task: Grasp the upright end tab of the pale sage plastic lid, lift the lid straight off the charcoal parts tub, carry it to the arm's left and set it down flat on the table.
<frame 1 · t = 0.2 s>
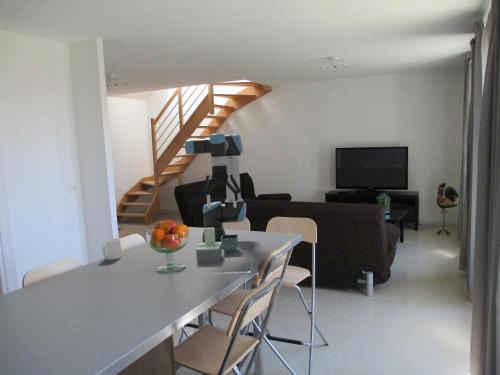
hand: (222, 207, 204), 27 cm above the counter, fingers open, 13 cm apart
cup: (111, 259, 225), on the counter
flower pot: (230, 252, 223), on the counter
tub: (209, 260, 210), on the counter
lid: (209, 247, 209), point 7 cm above the counter, touching tub
part a: (206, 257, 212), point 1 cm above the counter, touching tub
part b: (213, 260, 207), point 1 cm above the counter, touching tub
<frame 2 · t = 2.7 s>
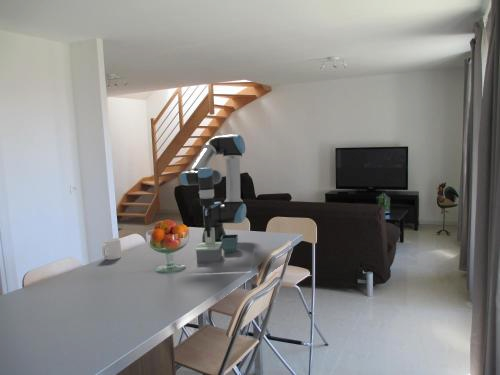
hand: (209, 242, 213), 8 cm above the counter, fingers open, 3 cm apart
lid: (209, 247, 209), point 7 cm above the counter, touching gripper, tub
everything else where it was.
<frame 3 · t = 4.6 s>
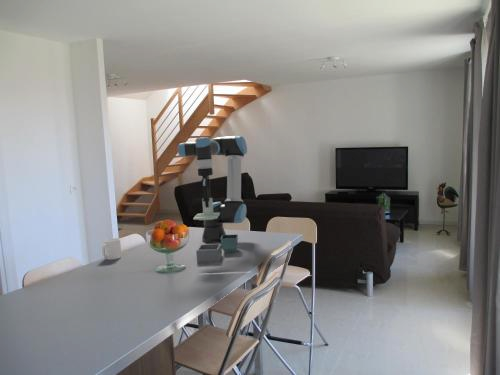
hand: (208, 212, 212), 24 cm above the counter, fingers closed on lid, 2 cm apart
lid: (207, 216, 208), point 23 cm above the counter, touching gripper
everything else where it was.
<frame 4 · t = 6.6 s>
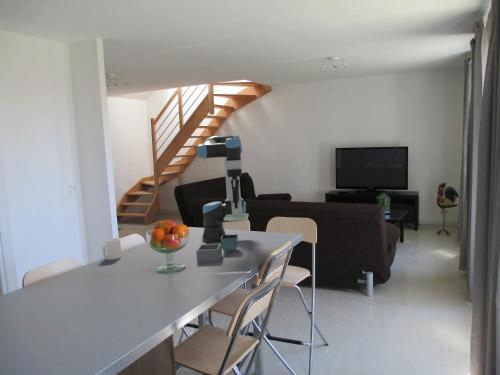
hand: (237, 214, 211), 22 cm above the counter, fingers closed on lid, 2 cm apart
lid: (236, 217, 207), point 21 cm above the counter, touching gripper
everything else where it was.
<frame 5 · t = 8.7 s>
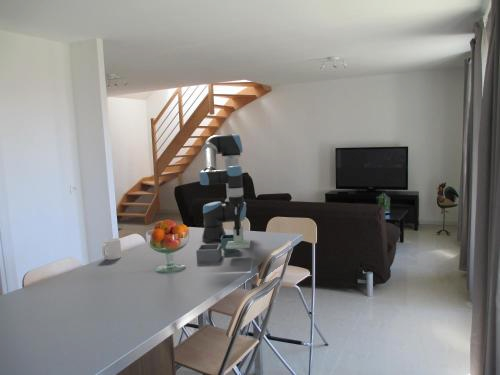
hand: (238, 240, 213), 8 cm above the counter, fingers closed on lid, 2 cm apart
lid: (238, 245, 208), point 7 cm above the counter, touching gripper
everything else where it was.
when the fingers open (3 cm above the counter, at t = 10.1 s): lid drops 1 cm, point 1 cm above the counter.
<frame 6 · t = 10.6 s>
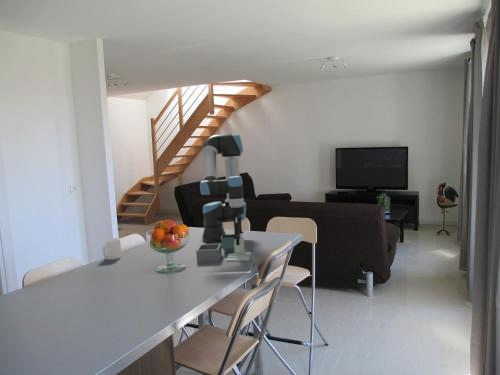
hand: (239, 248, 213), 4 cm above the counter, fingers open, 10 cm apart
flower pot: (230, 252, 223), on the counter, touching gripper
lid: (239, 257, 209), point 1 cm above the counter
everything else where it was.
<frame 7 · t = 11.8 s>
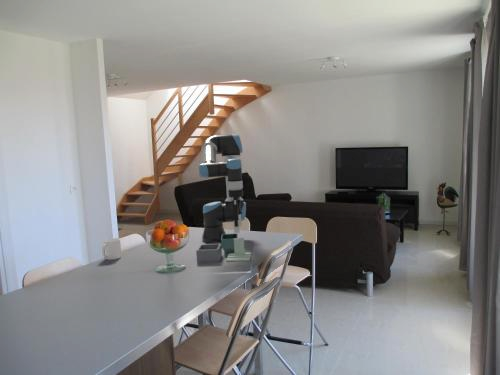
hand: (238, 229, 213), 14 cm above the counter, fingers open, 13 cm apart
flower pot: (230, 252, 223), on the counter
everything else where it was.
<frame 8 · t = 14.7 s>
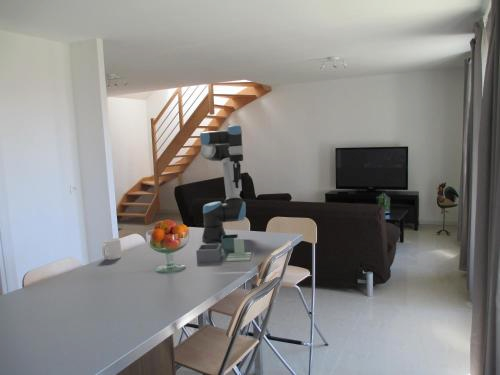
hand: (238, 192, 227), 32 cm above the counter, fingers open, 13 cm apart
at the end: lid point 0.8 cm above the counter; lid inside the target area (1.8 cm from its centre), point 0.8 cm above the counter; lid touching counter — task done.
